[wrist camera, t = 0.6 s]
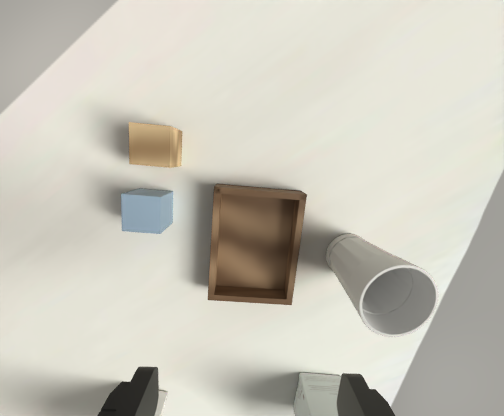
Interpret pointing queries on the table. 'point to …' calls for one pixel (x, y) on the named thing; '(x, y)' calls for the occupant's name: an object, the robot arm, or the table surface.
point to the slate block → (147, 210)
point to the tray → (255, 244)
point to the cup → (383, 286)
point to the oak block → (154, 145)
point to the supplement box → (316, 395)
